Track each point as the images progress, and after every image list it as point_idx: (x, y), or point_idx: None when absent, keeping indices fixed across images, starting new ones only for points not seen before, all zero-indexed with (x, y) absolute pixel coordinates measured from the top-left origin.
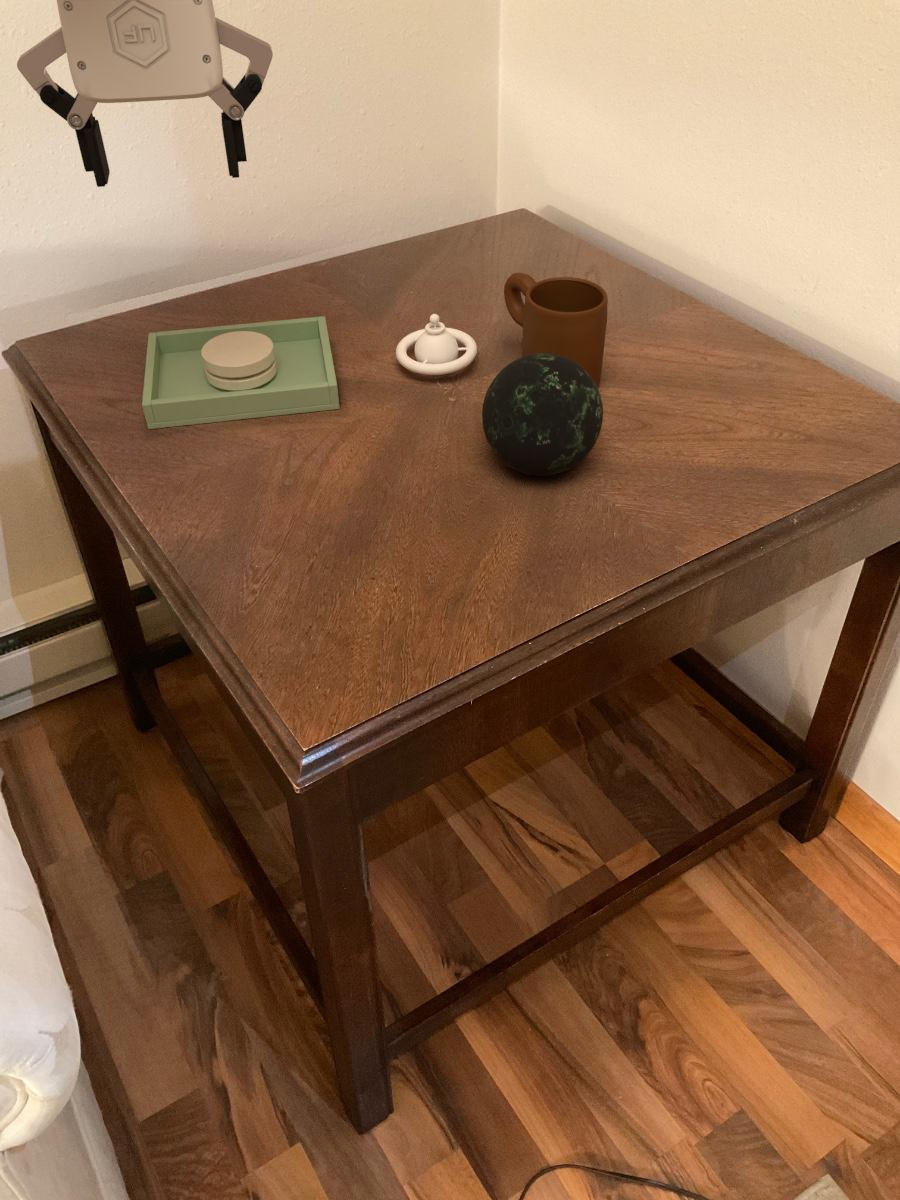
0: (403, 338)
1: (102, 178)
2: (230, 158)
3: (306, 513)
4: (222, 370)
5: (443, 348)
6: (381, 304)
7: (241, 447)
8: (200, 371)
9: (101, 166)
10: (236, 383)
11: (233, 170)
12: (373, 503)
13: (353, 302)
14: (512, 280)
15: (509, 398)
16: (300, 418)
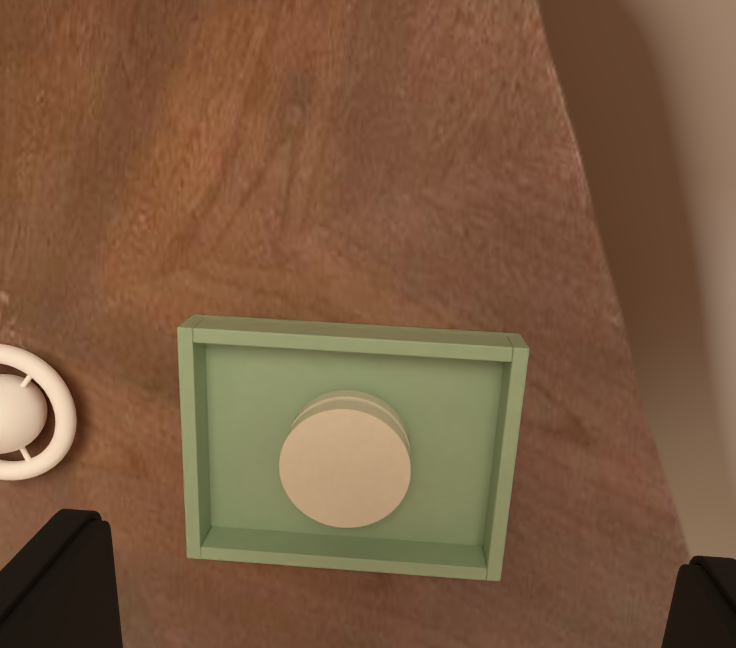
0: (55, 458)
1: (713, 577)
2: (40, 560)
3: (270, 9)
4: (377, 414)
5: None
6: None
7: (366, 240)
8: (419, 475)
9: (733, 623)
10: (357, 395)
11: (68, 522)
12: (154, 11)
13: (151, 629)
14: None
15: None
16: (261, 303)
